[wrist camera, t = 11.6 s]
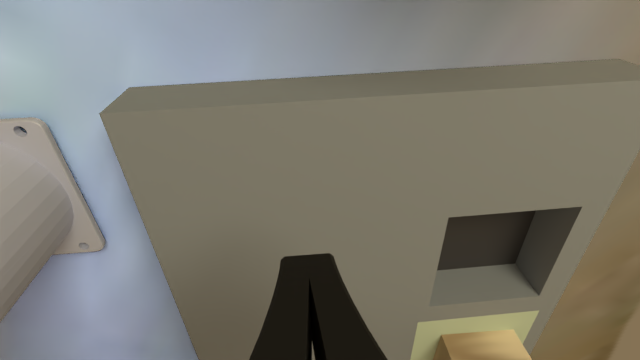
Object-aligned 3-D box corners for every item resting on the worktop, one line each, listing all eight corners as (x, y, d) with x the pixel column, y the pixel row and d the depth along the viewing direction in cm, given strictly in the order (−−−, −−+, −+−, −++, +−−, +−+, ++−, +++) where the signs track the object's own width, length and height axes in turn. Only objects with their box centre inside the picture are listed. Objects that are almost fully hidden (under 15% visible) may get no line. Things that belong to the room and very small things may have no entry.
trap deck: (241, 417, 33) (237, 456, 31) (129, 87, 16) (99, 113, 13) (476, 391, 34) (491, 426, 32) (619, 59, 17) (678, 77, 14)
